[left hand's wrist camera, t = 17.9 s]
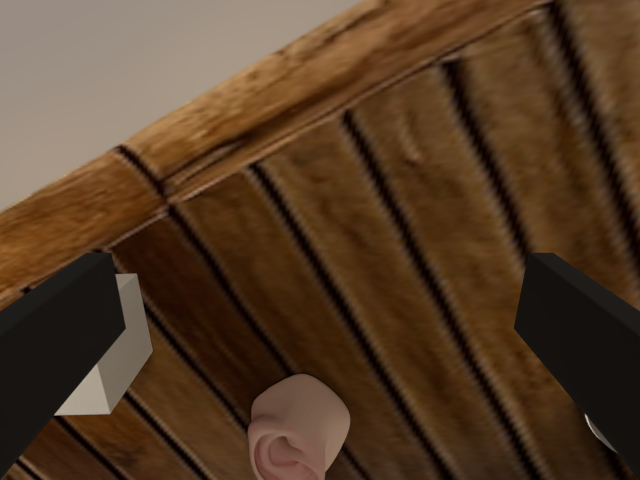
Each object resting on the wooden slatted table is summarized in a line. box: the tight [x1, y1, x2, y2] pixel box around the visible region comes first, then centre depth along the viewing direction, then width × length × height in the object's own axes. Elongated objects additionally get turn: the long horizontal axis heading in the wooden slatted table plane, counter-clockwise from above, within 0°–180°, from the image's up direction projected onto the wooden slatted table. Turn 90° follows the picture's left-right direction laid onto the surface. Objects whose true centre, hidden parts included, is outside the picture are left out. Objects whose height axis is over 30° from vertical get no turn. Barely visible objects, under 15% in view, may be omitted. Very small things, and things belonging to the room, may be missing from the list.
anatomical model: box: [248, 374, 350, 480], centre depth 41 cm, size 13×4×12 cm
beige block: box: [55, 274, 153, 415], centre depth 35 cm, size 9×7×8 cm
